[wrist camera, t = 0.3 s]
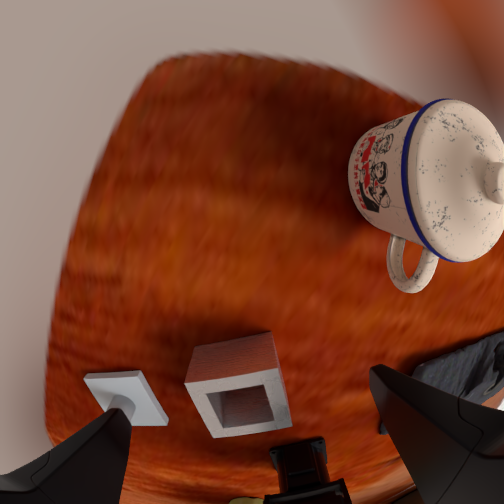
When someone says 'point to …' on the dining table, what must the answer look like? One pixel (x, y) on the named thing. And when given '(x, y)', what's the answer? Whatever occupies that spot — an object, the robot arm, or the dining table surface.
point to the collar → (239, 386)
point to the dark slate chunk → (466, 371)
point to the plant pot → (246, 501)
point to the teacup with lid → (431, 186)
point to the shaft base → (127, 396)
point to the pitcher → (411, 499)
